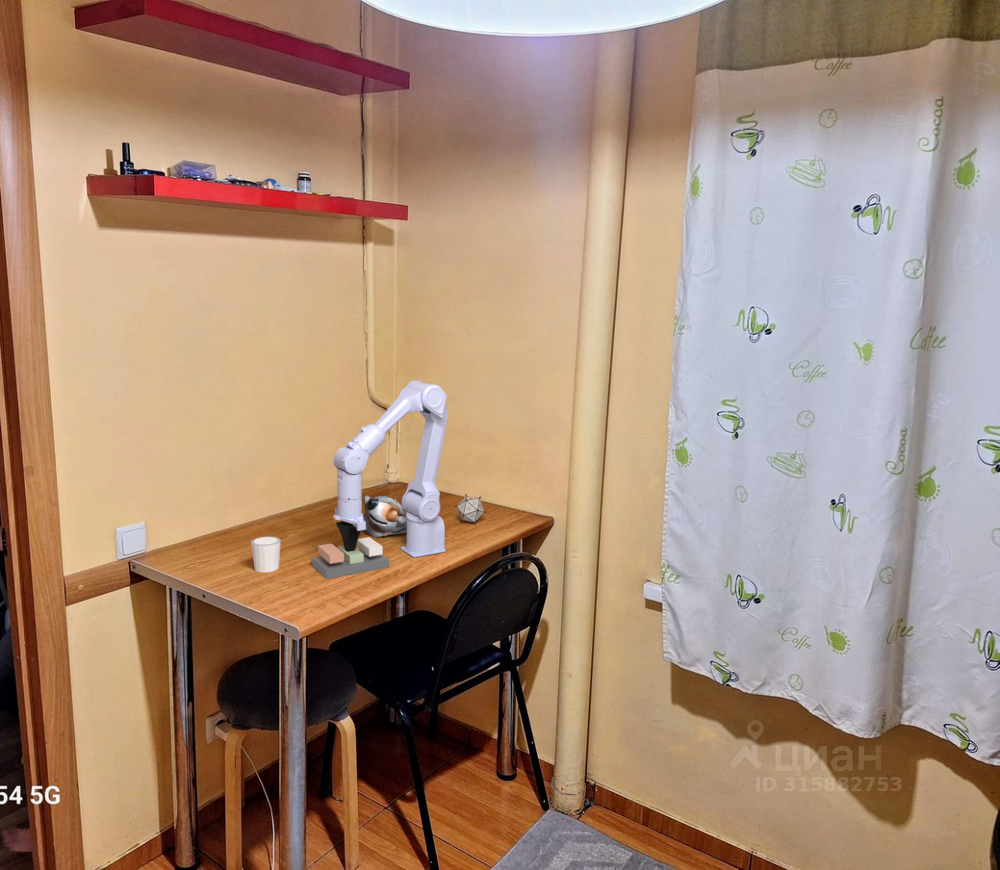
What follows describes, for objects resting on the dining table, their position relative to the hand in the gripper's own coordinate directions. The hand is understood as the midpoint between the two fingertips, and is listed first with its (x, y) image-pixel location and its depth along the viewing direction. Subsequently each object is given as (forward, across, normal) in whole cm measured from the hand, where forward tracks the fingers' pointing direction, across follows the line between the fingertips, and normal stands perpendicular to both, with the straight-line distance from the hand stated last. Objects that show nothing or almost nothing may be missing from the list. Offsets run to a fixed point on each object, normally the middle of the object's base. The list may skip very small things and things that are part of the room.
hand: (350, 550), depth 193 cm
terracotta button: (+1, 0, -5) cm, 5 cm away
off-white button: (+1, 0, +5) cm, 5 cm away
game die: (+4, -16, +44) cm, 47 cm away
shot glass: (+4, -8, -18) cm, 20 cm away
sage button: (+2, 0, 0) cm, 2 cm away
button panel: (+4, 0, 0) cm, 4 cm away
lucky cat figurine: (+4, -18, +19) cm, 27 cm away
